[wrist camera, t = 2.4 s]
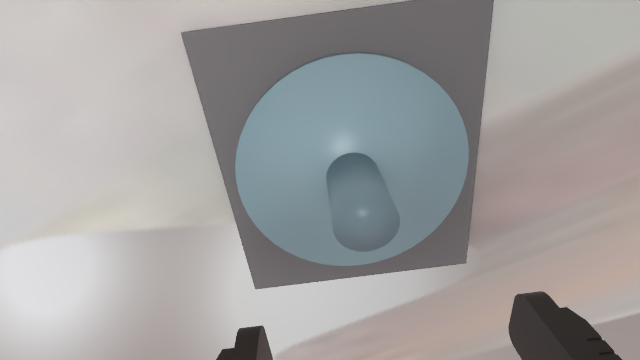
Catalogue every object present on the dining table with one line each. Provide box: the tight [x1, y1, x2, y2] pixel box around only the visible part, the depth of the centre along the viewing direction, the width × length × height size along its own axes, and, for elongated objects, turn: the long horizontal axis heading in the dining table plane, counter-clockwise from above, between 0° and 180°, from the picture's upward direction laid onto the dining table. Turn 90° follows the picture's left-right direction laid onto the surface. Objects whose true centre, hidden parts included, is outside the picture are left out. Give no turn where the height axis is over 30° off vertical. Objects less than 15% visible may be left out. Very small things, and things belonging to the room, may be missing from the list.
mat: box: [181, 0, 494, 289], centre depth 21 cm, size 16×18×1 cm
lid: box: [235, 52, 469, 266], centre depth 19 cm, size 14×14×6 cm
